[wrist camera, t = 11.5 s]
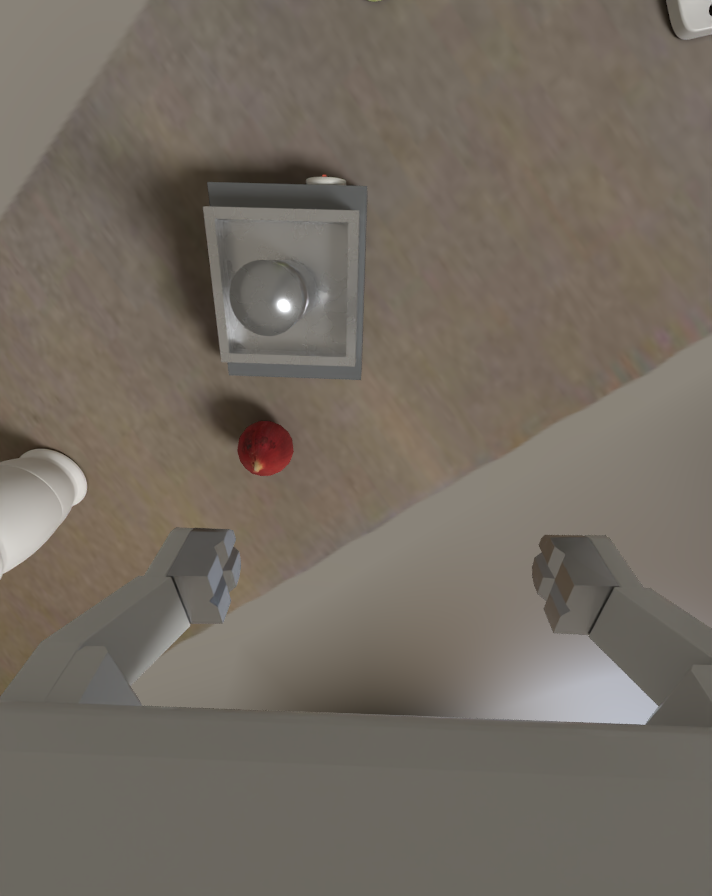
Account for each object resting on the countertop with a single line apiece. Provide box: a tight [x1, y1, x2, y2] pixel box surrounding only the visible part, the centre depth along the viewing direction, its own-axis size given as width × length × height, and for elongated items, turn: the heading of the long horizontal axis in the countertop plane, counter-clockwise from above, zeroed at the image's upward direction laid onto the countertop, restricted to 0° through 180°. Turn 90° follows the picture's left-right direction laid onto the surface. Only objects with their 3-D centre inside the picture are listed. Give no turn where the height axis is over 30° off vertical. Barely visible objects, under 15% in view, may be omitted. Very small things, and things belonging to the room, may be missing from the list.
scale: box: [207, 175, 367, 380], centre depth 37 cm, size 13×17×4 cm
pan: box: [203, 206, 360, 367], centre depth 34 cm, size 12×12×3 cm
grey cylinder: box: [229, 260, 317, 336], centre depth 31 cm, size 5×5×9 cm
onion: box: [238, 421, 294, 476], centre depth 43 cm, size 6×6×8 cm
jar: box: [0, 449, 87, 579], centre depth 43 cm, size 11×10×15 cm
